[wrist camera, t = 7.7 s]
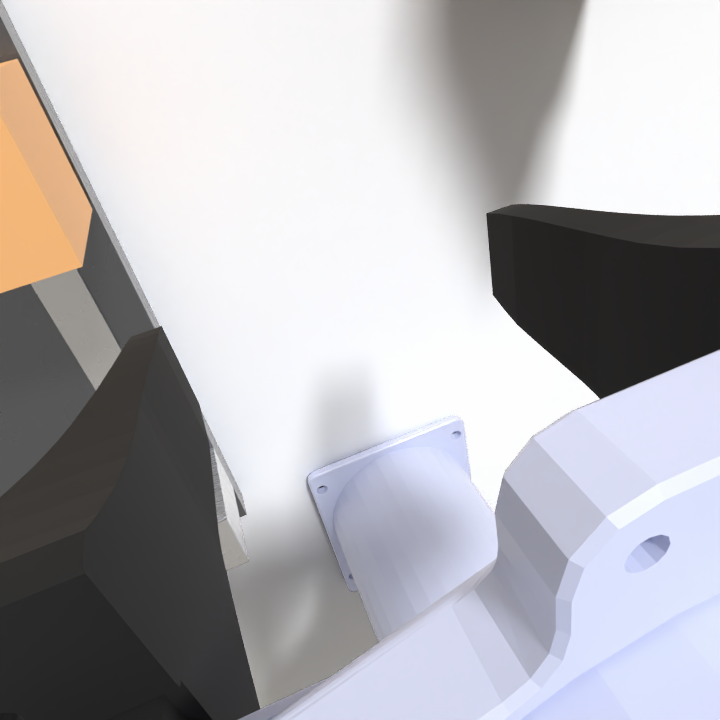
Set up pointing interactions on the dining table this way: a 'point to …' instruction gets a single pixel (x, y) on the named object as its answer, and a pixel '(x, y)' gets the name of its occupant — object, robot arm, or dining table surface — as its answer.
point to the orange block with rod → (35, 191)
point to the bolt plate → (77, 339)
